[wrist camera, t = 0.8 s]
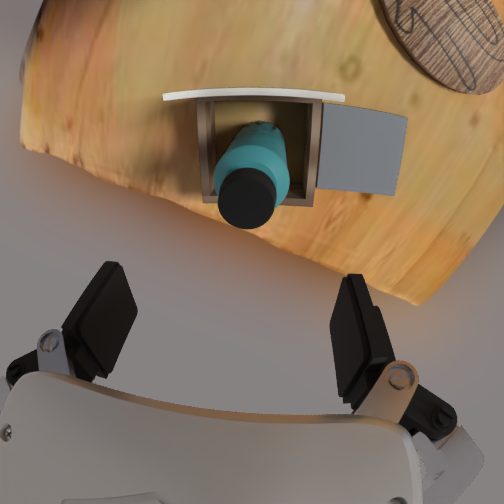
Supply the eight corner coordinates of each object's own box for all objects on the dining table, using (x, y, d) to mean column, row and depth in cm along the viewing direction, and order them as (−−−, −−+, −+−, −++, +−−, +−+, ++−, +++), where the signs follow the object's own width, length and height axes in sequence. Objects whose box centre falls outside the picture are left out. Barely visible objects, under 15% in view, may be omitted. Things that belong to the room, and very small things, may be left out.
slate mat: (322, 102, 30) (324, 102, 29) (404, 116, 29) (407, 117, 28) (315, 185, 37) (316, 188, 36) (391, 193, 36) (393, 196, 35)
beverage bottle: (293, 130, 33) (314, 183, 16) (271, 172, 36) (269, 259, 20) (247, 110, 32) (217, 141, 15) (228, 153, 35) (186, 227, 19)
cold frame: (206, 88, 30) (163, 93, 18) (315, 90, 29) (344, 94, 17) (210, 188, 38) (180, 246, 26) (308, 191, 38) (324, 252, 25)
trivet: (459, 123, 28) (465, 126, 27) (342, -3, 21) (346, -7, 19) (517, 50, 16) (523, 51, 14) (423, -62, 8) (428, -65, 7)
